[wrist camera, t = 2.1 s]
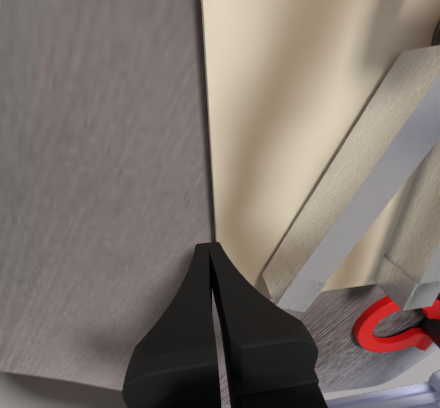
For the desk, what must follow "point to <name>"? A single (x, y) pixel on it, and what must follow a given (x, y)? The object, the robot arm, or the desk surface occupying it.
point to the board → (296, 114)
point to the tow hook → (420, 337)
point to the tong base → (416, 237)
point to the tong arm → (360, 179)
